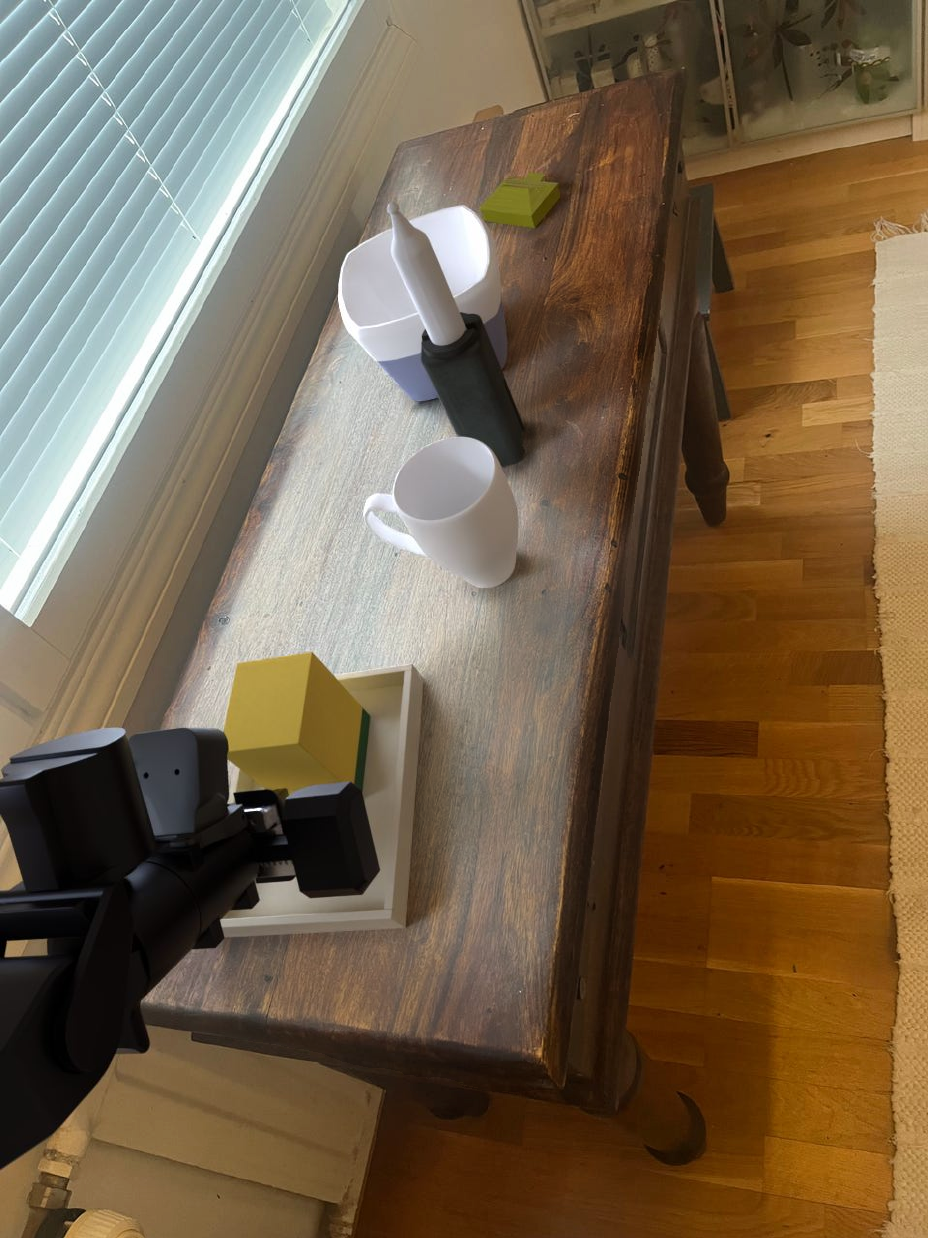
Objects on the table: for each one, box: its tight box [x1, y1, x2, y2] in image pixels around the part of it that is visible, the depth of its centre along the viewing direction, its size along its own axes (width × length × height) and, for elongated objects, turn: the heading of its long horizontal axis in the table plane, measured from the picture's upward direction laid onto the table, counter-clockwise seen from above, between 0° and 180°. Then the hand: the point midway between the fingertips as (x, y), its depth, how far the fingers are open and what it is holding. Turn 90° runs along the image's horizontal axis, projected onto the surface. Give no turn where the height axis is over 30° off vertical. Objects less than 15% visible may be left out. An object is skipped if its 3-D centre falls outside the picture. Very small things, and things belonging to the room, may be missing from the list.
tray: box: [220, 663, 425, 938], centre depth 69 cm, size 19×14×2 cm
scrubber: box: [222, 651, 370, 795], centre depth 67 cm, size 7×6×10 cm
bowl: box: [338, 204, 508, 402], centre depth 88 cm, size 15×15×11 cm
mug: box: [363, 436, 520, 589], centre depth 73 cm, size 12×8×11 cm
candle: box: [386, 201, 527, 467], centre depth 74 cm, size 5×5×25 cm
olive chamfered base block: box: [477, 171, 583, 240], centre depth 101 cm, size 10×9×3 cm
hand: (284, 795), depth 63 cm, fingers closed
